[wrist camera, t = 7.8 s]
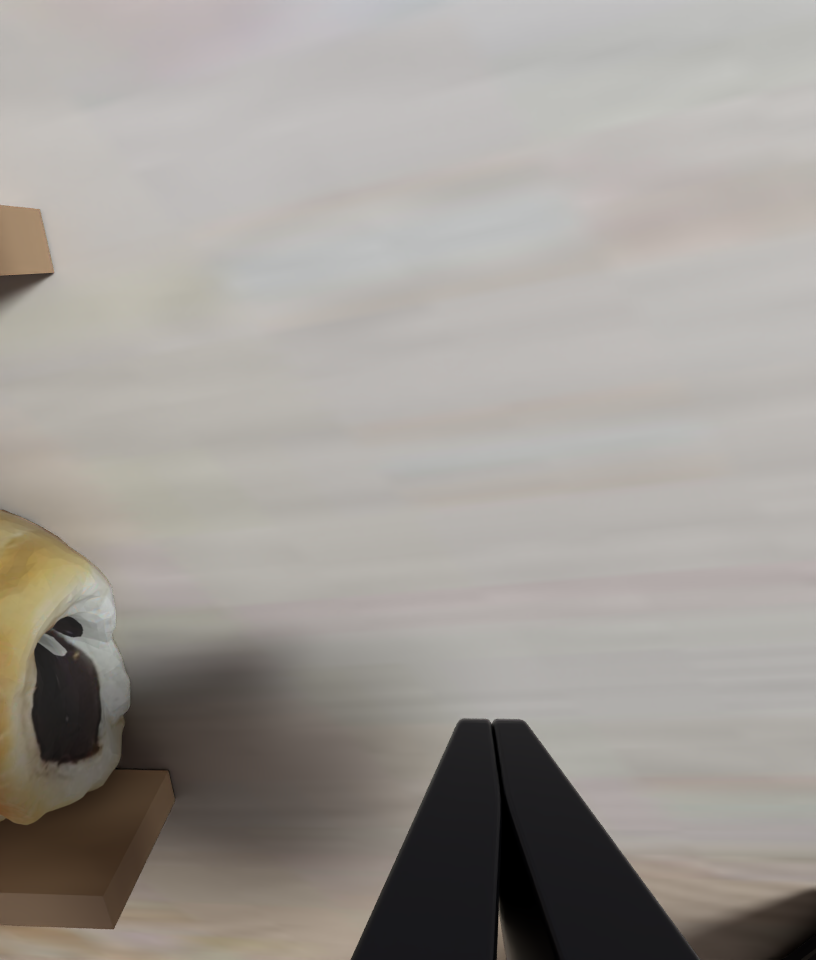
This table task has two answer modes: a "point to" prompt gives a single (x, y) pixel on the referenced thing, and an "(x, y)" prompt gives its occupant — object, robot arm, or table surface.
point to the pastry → (55, 674)
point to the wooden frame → (99, 813)
